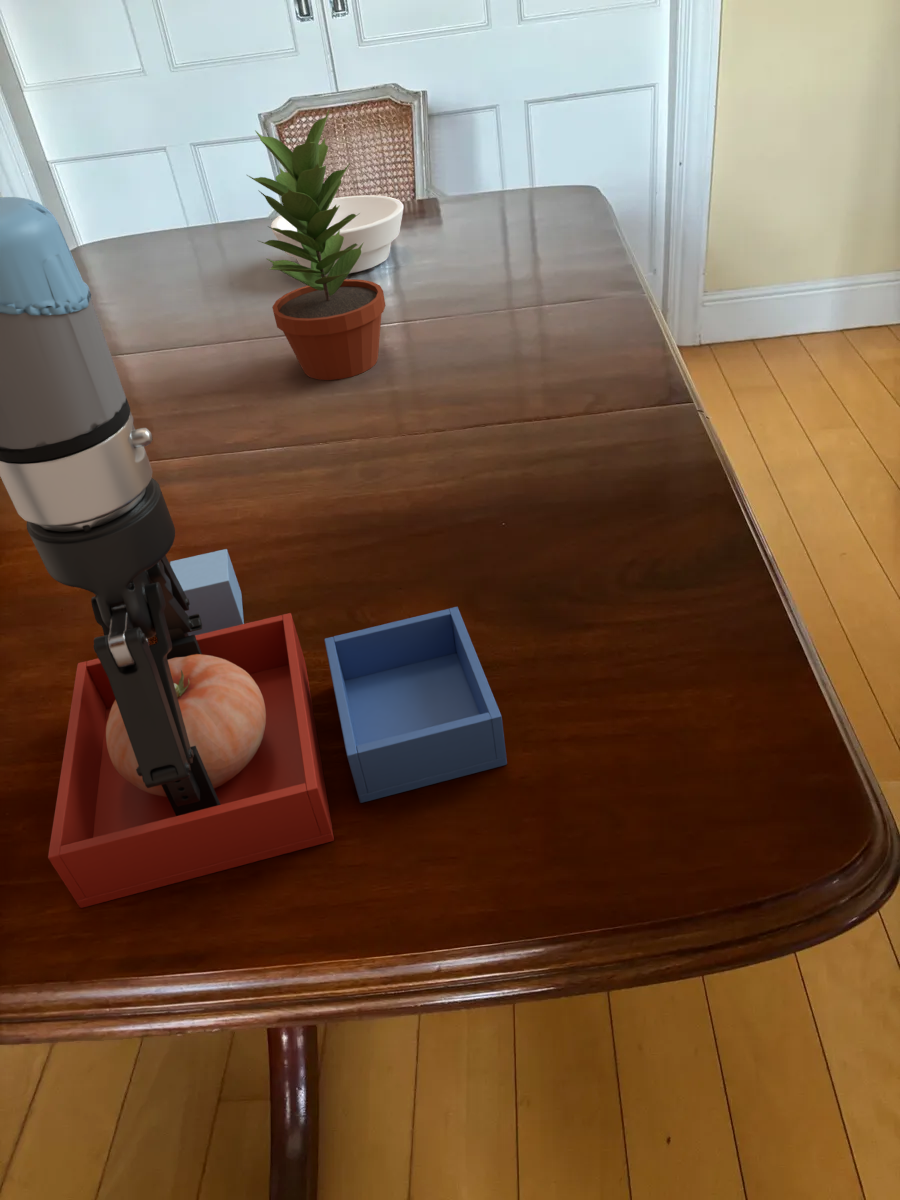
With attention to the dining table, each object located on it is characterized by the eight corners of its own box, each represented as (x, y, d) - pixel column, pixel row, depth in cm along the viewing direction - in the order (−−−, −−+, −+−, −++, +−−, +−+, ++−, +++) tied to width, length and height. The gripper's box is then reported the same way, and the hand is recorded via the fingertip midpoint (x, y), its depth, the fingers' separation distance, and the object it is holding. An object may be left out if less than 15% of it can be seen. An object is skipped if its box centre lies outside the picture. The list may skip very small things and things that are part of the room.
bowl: (424, 240, 161) (418, 191, 155) (389, 285, 144) (381, 231, 139) (308, 246, 166) (298, 198, 161) (261, 290, 149) (249, 238, 144)
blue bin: (360, 803, 61) (346, 755, 58) (336, 684, 70) (324, 638, 67) (507, 765, 62) (501, 716, 59) (464, 653, 71) (457, 606, 69)
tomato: (144, 718, 68) (107, 639, 64) (283, 699, 68) (257, 618, 63) (112, 833, 60) (67, 752, 55) (271, 811, 60) (240, 729, 55)
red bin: (80, 908, 57) (47, 858, 53) (102, 712, 71) (77, 662, 68) (334, 841, 58) (317, 787, 55) (305, 662, 73) (290, 612, 70)
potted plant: (263, 371, 122) (200, 127, 103) (352, 334, 129) (308, 99, 110) (324, 400, 112) (266, 137, 94) (417, 358, 119) (380, 106, 101)
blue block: (186, 639, 77) (168, 594, 74) (186, 606, 81) (169, 561, 78) (244, 626, 78) (228, 580, 75) (241, 593, 82) (226, 548, 78)
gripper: (150, 600, 42) (265, 879, 55) (161, 400, 60) (246, 647, 74) (-14, 638, 41) (143, 911, 55) (48, 424, 59) (155, 669, 73)
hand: (202, 759), depth 64 cm, fingers closed on tomato, 11 cm apart
